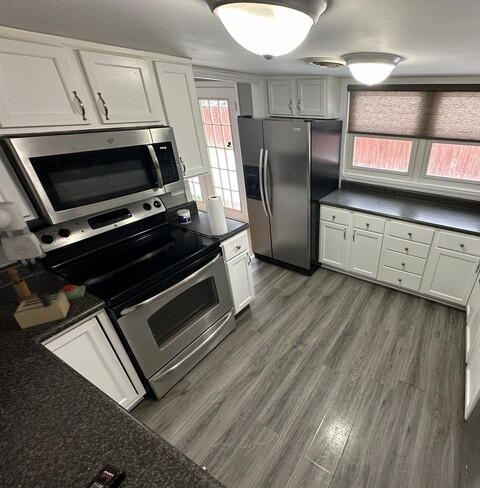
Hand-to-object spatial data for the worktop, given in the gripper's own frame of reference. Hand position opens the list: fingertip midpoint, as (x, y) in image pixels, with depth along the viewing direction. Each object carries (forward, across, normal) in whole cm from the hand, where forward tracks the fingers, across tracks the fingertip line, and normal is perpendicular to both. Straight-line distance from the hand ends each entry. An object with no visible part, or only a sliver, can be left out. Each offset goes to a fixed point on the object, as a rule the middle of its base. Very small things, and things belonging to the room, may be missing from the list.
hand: (34, 271), depth 115 cm
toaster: (+21, -1, -5) cm, 22 cm away
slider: (+13, +2, -9) cm, 16 cm away
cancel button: (+17, +5, +10) cm, 21 cm away
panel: (+21, +5, +10) cm, 24 cm away
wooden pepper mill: (+21, -12, +15) cm, 29 cm away
